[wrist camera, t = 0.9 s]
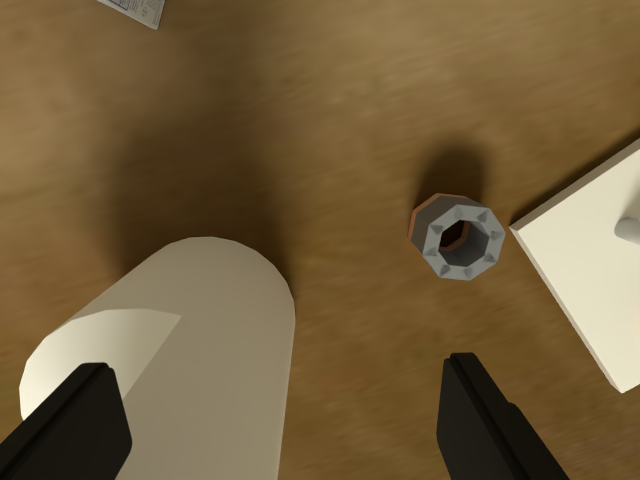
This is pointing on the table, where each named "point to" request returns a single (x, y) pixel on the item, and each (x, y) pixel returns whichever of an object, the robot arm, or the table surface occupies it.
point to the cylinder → (186, 360)
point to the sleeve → (470, 249)
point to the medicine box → (139, 10)
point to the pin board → (595, 260)
